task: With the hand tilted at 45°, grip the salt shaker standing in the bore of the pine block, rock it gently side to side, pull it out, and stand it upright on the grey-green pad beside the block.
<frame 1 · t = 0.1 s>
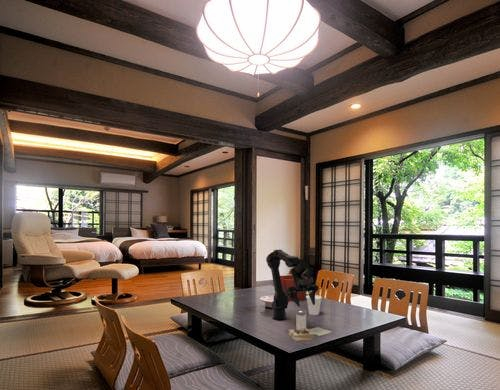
hand: (306, 305, 170), 15 cm above the table, tool tilted 35°, fingers open, 9 cm apart
salt shaker: (301, 336, 164), resting on bore block
bore block: (301, 337, 164), on the table
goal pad: (318, 332, 173), on the table
cup: (314, 314, 207), on the table
plant pot: (293, 299, 249), on the table
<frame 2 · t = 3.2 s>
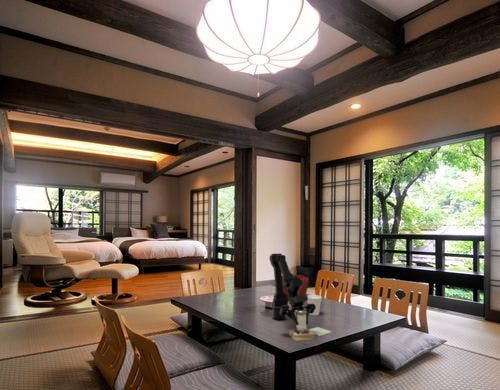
hand: (302, 324, 164), 7 cm above the table, tool tilted 45°, fingers closed on salt shaker, 5 cm apart
salt shaker: (301, 336, 164), point 1 cm above the table, touching bore block, gripper
everything else where it was.
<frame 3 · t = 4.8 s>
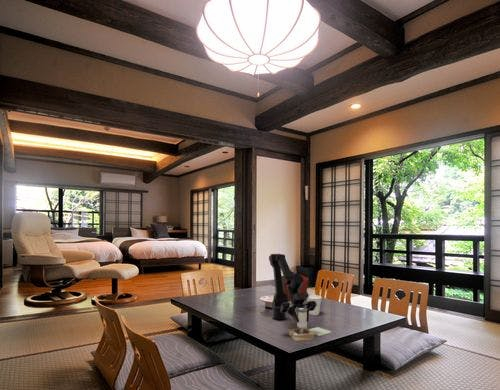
hand: (302, 321, 164), 8 cm above the table, tool tilted 45°, fingers closed on salt shaker, 5 cm apart
salt shaker: (301, 333, 165), point 2 cm above the table, touching gripper
everything else where it was.
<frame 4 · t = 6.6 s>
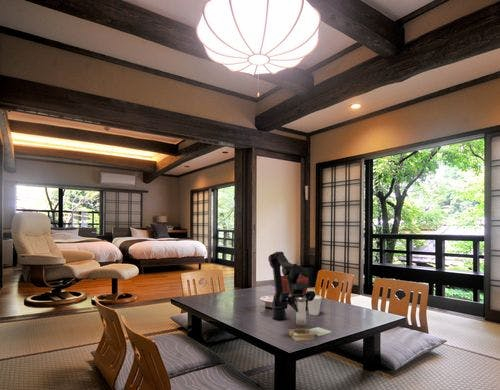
hand: (302, 311, 164), 13 cm above the table, tool tilted 45°, fingers closed on salt shaker, 5 cm apart
salt shaker: (301, 323, 165), point 7 cm above the table, touching gripper
everything else where it was.
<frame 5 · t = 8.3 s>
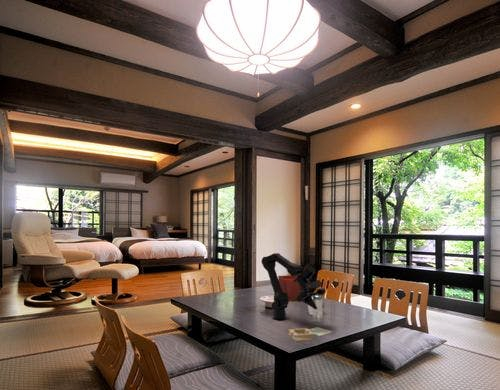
hand: (319, 308, 173), 13 cm above the table, tool tilted 45°, fingers closed on salt shaker, 5 cm apart
salt shaker: (318, 320, 173), point 6 cm above the table, touching gripper
everything else where it was.
when the fingers open (8 cm above the table, at t = 9.6 s): salt shaker drops 1 cm, resting on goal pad.
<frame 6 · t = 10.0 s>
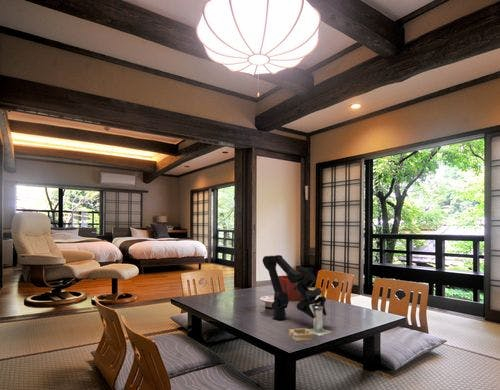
hand: (320, 316, 172), 8 cm above the table, tool tilted 45°, fingers open, 9 cm apart
salt shaker: (318, 331, 173), point 1 cm above the table, touching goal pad
everything else where it was.
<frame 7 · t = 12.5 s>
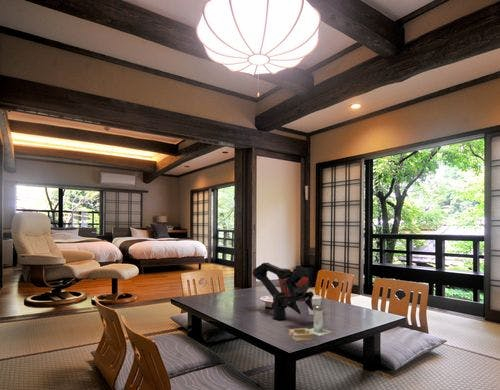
hand: (306, 311, 180), 9 cm above the table, tool tilted 45°, fingers open, 9 cm apart
nothing on the table moved.
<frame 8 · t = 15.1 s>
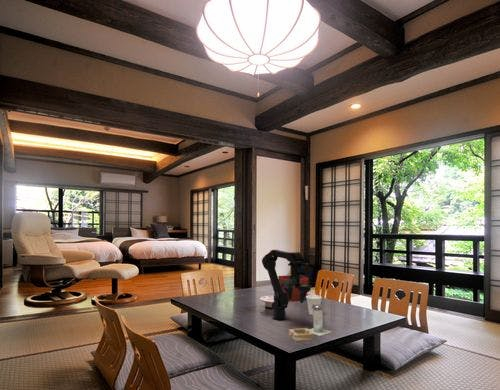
hand: (295, 301, 187), 13 cm above the table, tool pointing down, fingers open, 9 cm apart
nothing on the table moved.
at the end: salt shaker inside the target area on the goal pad (0.1 cm from its centre), point 0.7 cm above the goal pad's base; salt shaker tilted 1°; the gripper is holding nothing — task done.
